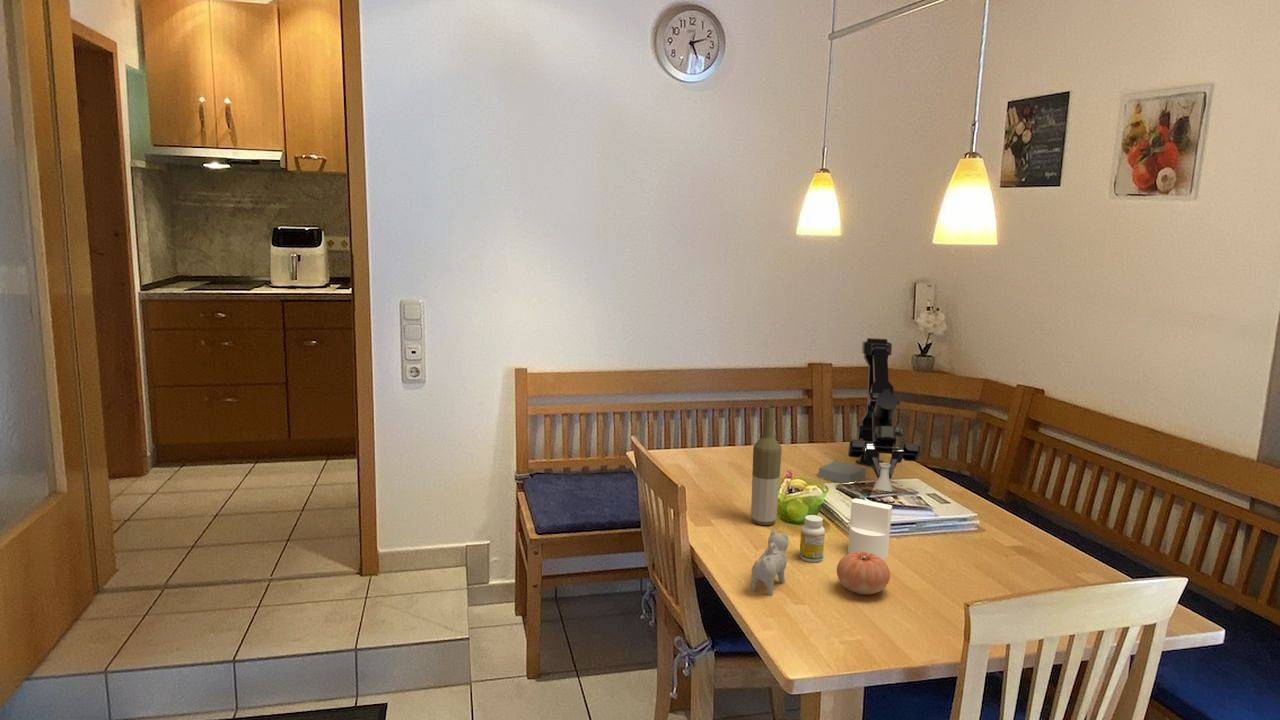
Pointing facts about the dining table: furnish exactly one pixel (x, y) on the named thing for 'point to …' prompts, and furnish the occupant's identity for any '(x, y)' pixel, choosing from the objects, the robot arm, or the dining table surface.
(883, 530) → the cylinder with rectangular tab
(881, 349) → the robot arm
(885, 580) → the pumpkin
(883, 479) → the flask
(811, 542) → the supplement bottle
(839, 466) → the dock
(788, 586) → the dining table surface
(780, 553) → the dog figurine
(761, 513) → the bottle
